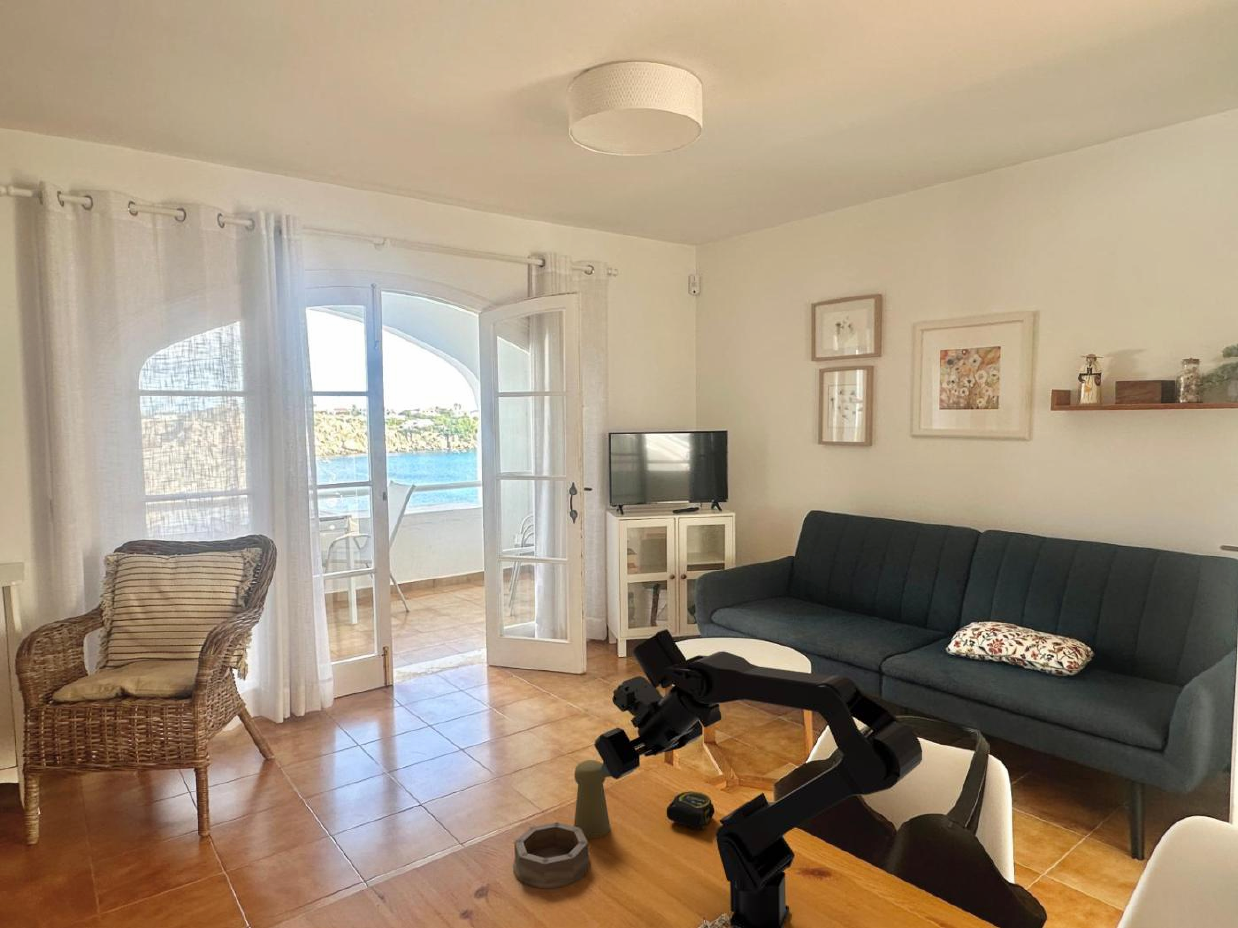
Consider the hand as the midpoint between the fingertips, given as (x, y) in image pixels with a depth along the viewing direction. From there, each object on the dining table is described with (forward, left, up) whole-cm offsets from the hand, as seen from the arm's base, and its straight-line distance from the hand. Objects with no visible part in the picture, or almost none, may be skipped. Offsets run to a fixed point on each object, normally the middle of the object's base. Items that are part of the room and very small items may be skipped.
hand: (624, 763), depth 118 cm
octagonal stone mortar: (+8, +9, -14) cm, 18 cm away
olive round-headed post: (+8, -2, -14) cm, 16 cm away
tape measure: (-7, -11, -14) cm, 19 cm away
